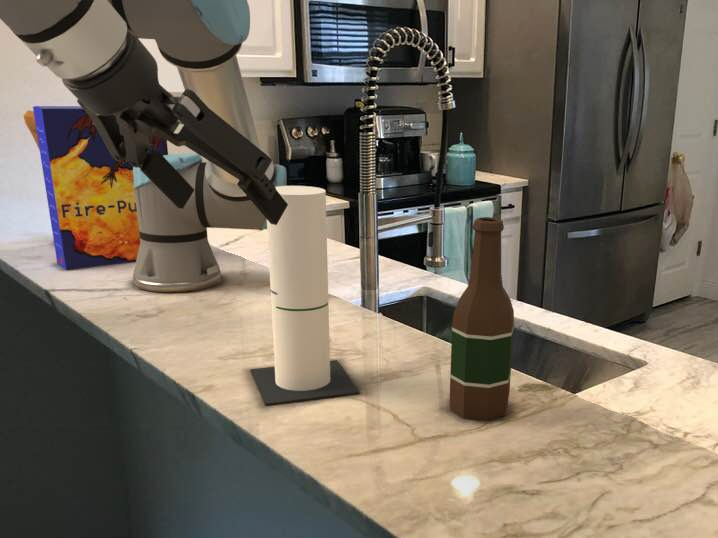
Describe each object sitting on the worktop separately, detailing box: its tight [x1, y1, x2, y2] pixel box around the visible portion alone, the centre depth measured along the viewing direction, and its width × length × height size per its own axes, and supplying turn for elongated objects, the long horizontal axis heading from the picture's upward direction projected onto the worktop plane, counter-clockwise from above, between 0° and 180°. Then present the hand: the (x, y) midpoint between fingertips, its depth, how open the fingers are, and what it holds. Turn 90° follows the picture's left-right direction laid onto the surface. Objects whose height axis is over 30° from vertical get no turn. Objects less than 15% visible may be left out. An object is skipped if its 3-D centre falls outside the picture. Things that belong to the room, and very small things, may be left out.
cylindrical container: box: [266, 185, 331, 391], centre depth 97 cm, size 7×7×25 cm
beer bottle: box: [449, 216, 515, 422], centre depth 92 cm, size 8×8×24 cm
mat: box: [250, 359, 360, 406], centre depth 101 cm, size 12×12×1 cm
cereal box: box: [32, 105, 169, 271], centre depth 151 cm, size 22×6×30 cm, turn 132°
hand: (231, 206), depth 84 cm, fingers open, 13 cm apart
